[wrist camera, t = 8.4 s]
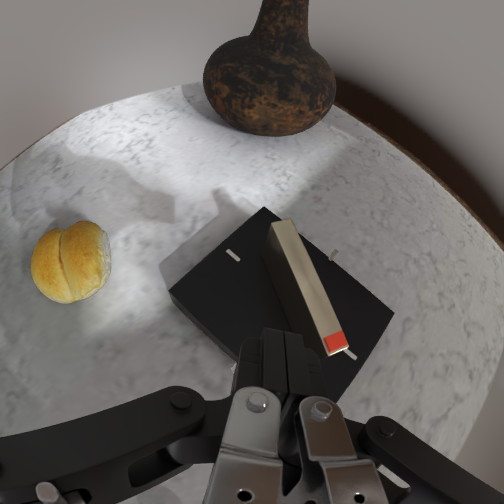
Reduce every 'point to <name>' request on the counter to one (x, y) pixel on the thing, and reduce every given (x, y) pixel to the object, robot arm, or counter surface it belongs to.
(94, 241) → the bread roll
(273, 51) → the brown mottled bulbous container
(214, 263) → the black square dial panel
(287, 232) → the red-tipped beige bar
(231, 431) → the robot arm
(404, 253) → the counter surface
